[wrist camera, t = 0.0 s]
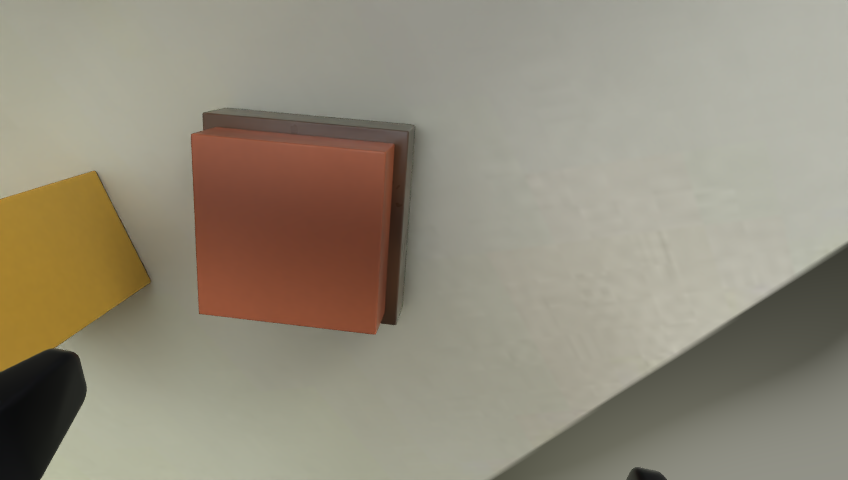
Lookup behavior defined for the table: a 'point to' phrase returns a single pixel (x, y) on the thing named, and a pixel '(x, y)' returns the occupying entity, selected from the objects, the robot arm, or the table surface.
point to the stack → (301, 218)
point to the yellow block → (60, 265)
